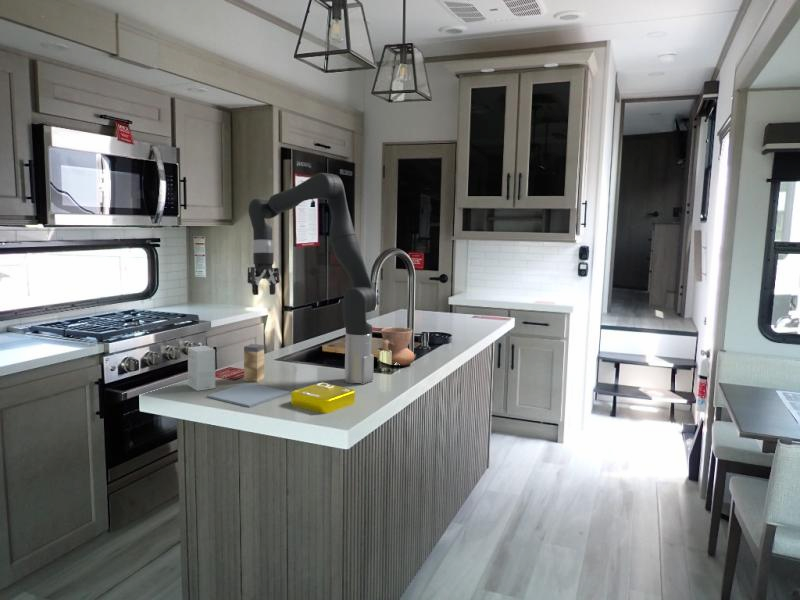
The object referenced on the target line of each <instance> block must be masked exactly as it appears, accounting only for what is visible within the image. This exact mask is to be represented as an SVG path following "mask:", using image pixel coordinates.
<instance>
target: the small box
mask: <svg viewBox="0 0 800 600" xmlns="http://www.w3.org/2000/svg"><path fill="white" fill-rule="evenodd" d="M187 385H188V386H189V387H190V388H191V389H193V390H195V391H197V392H199V391H205V390H212V389H216V349H215V348H212V347H210V346H207V345H198V346H189V347H187Z"/></svg>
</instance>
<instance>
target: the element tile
mask: <svg viewBox="0 0 800 600" xmlns="http://www.w3.org/2000/svg"><path fill="white" fill-rule="evenodd" d="M290 401H291V402H290V404H291V406H293V407H297V408H300V409H301V408H302V409H304V410H309V411H312V412H315V413H320V414H329V413H330V414H331V413H332V412H336V411H339V410H340V409H343V408H346V407H348V406H351V405H353V404H355V403H356V390H355V389H353V388H348V387H344V386H339V385H334V384H330V383H327V382H317V383H314V384H311V385H308V386H304V387H301V388H299V389H295V390H292V391H291V392H290Z"/></svg>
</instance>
